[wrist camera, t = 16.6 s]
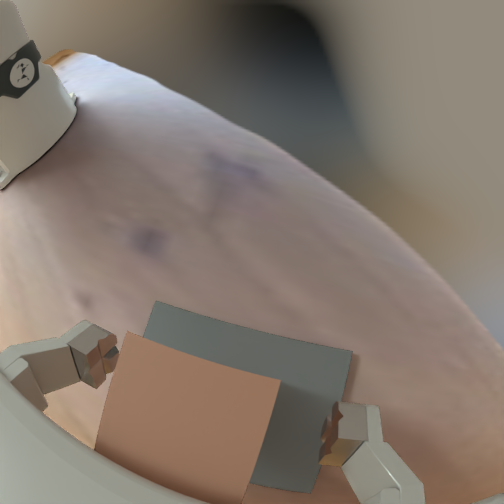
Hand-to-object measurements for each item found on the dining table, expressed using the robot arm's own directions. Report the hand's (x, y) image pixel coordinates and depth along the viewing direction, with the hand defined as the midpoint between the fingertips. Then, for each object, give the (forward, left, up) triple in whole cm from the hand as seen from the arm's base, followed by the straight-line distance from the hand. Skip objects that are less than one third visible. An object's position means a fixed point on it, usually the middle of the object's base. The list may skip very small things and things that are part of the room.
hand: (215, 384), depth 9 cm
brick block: (0, -1, -6) cm, 6 cm away
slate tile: (0, -1, -6) cm, 7 cm away
